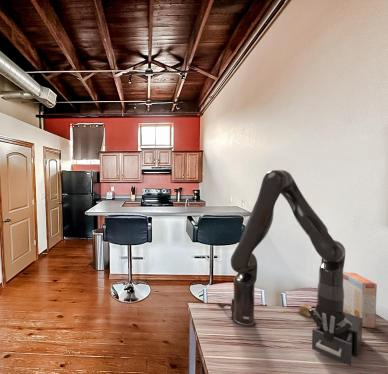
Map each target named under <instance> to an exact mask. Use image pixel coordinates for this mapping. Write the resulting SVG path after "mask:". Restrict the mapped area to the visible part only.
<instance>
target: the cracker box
mask: <svg viewBox="0 0 388 374" xmlns="http://www.w3.org/2000/svg"><path fill="white" fill-rule="evenodd" d="M343 276H344V278H343V289H344V307H343V312H345V313H348V314H351V315H354V316H357V317H360V318H362V328H368V329H376V323H377V322H376V321H377V290H378V289H377V287H378V286H377V285H378V284H377V283H375V282H373V281H372V280H369V279H368V278H366V277H364V276H362V275H360V274H358V273H356V272H346V271H345V272H344V271H343Z"/></svg>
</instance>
